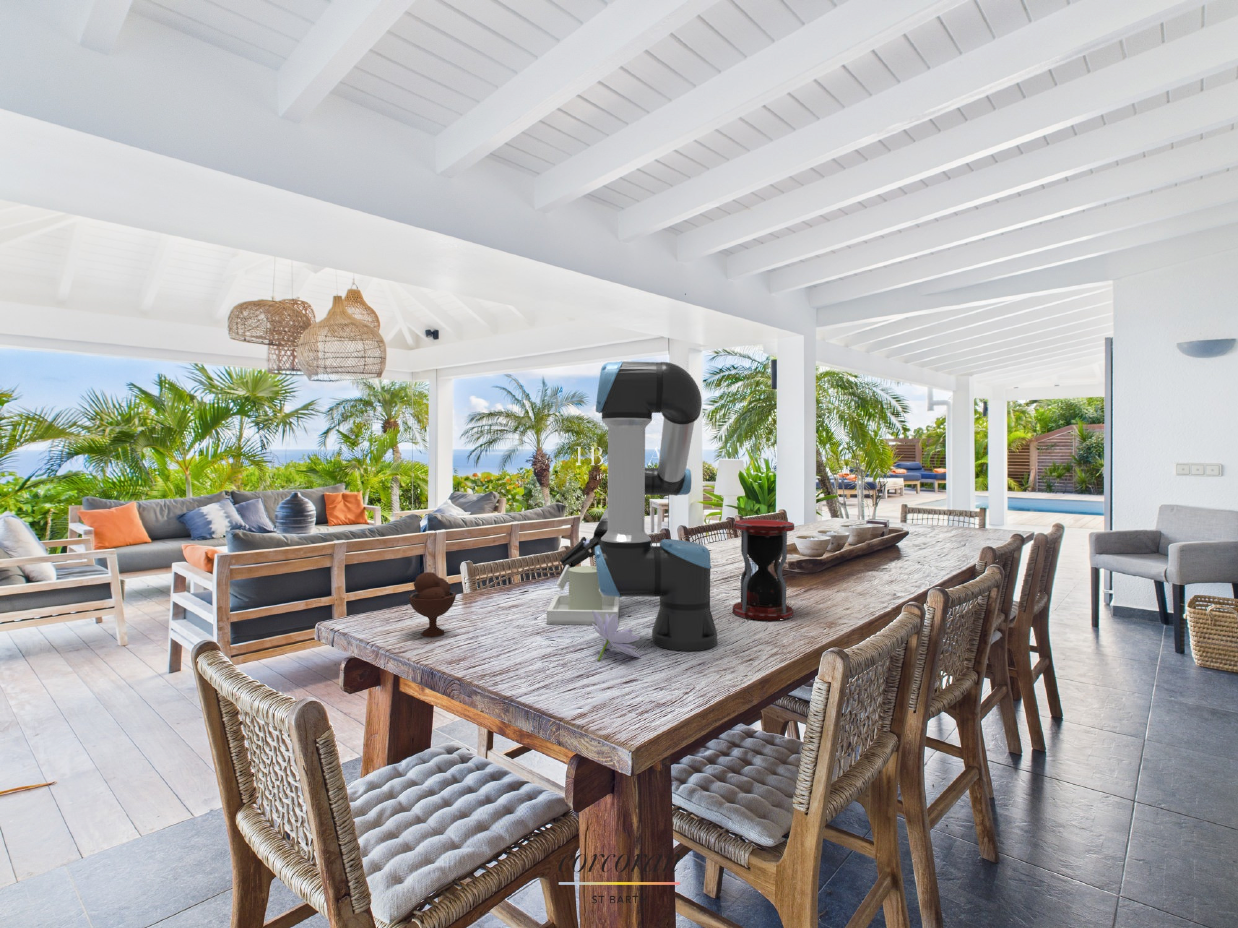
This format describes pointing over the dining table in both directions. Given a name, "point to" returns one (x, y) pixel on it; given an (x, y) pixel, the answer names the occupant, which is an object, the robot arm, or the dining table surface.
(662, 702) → the dining table surface
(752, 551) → the hourglass
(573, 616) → the grey tray
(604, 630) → the water lily
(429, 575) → the ice cream bowl
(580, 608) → the can
